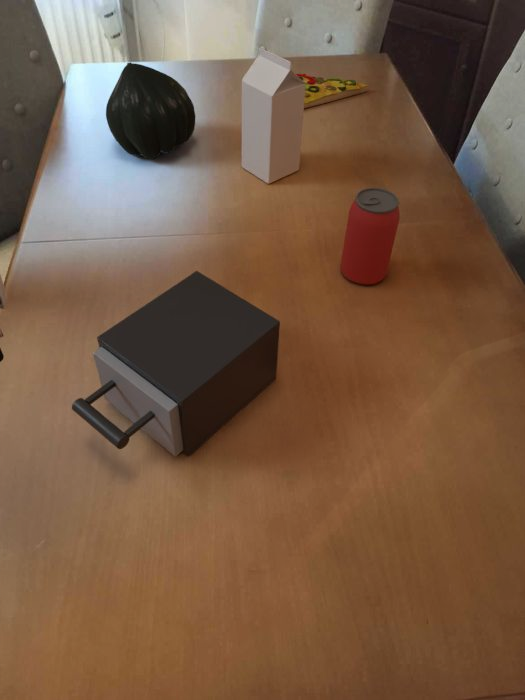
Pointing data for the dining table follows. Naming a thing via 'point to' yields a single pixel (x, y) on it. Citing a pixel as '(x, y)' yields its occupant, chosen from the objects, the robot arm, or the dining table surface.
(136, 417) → the drawer
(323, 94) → the pizza slice
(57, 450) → the dining table surface
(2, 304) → the robot arm
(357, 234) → the beer can
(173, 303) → the cabinet
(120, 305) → the dining table surface
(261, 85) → the milk carton
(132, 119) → the squash
